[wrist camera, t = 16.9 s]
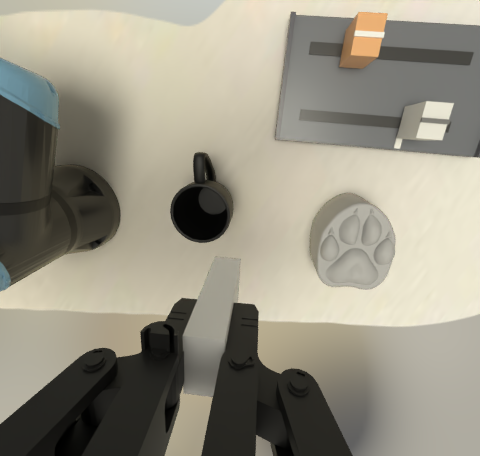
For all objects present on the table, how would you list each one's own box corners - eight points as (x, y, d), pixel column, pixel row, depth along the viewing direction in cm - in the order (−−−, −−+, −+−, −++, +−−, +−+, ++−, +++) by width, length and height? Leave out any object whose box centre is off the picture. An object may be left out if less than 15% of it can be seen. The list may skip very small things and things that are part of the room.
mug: (240, 151, 41) (232, 154, 32) (237, 224, 45) (229, 245, 36) (188, 149, 42) (167, 151, 33) (190, 221, 46) (171, 240, 37)
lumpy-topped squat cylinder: (306, 264, 46) (314, 291, 38) (315, 191, 42) (327, 203, 34) (367, 269, 45) (390, 297, 37) (383, 194, 41) (411, 207, 33)
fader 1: (338, 67, 34) (350, 54, 29) (345, 30, 33) (359, 10, 28) (363, 68, 34) (379, 56, 29) (370, 32, 33) (389, 12, 28)
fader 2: (396, 138, 36) (416, 137, 31) (404, 106, 35) (427, 100, 30) (419, 140, 36) (443, 140, 31) (428, 108, 34) (455, 102, 29)
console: (274, 139, 40) (275, 139, 37) (289, 21, 35) (291, 11, 32) (467, 156, 38) (482, 157, 35) (510, 34, 33) (531, 25, 31)
